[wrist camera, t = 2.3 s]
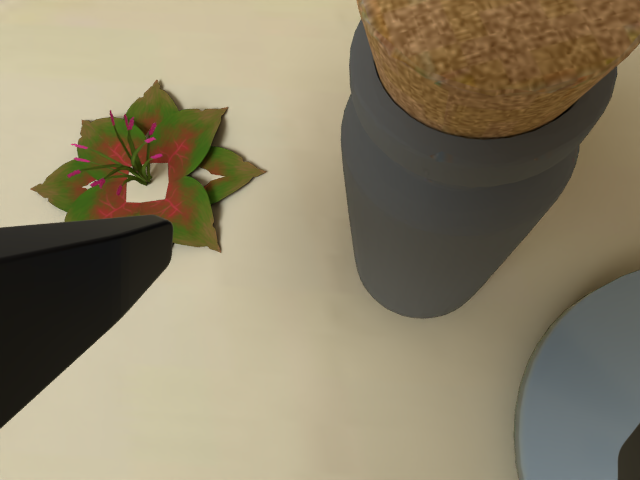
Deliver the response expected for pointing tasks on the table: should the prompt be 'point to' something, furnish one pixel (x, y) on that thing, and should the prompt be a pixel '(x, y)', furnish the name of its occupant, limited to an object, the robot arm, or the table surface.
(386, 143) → the bottle
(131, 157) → the lily flower
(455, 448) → the table surface
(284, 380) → the table surface
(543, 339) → the dish
